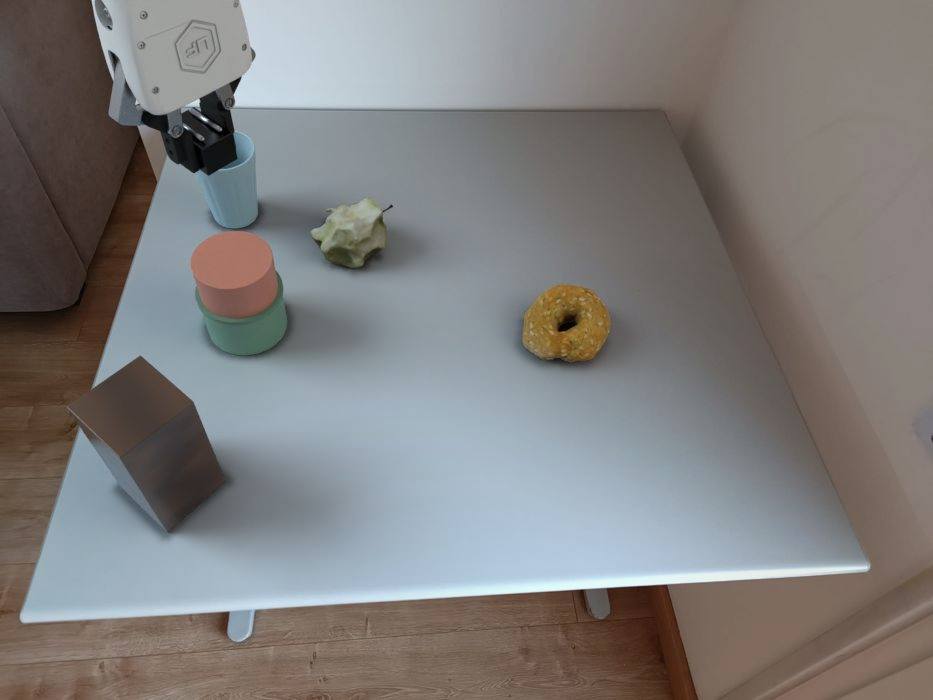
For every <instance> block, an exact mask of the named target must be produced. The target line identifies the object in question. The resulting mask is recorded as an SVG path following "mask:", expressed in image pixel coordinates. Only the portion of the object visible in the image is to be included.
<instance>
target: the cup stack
mask: <svg viewBox="0 0 933 700" xmlns="http://www.w3.org/2000/svg"><path fill="white" fill-rule="evenodd" d="M189 265H190V270H191V273H192V277H193V279H194V282H195V284H196V286H195V290H194V297H195V301H196V304H197V307H198V309H199V310H200V312H201V314H202V317H203V319H204V323H205V326H206V328H207V332H208V335H209V337H210V340H211V342H212V343H213V344H214V345H215V347H217V348H218V349H220V350H221V351H223V352H225V353H228V354H230V355H235V356H254V355H258V354H261V353H263V352H266V351H268V350H270V349H272V348H273V347H275V346H276V345H277V344H278V343H279V342H280V341H281V340H282V338H283V337H284V336H285V334H286V331H287V328H288V316H287V312H286V304H285V299H284V283H283V280H282V277H281V275H280V274H279V272H278V271H277V269H276V266H275V259H274V254H273V250H272V248H271V246H270V245H269V244H268V242H267V241H266V240H265V239H264V238H263V237H261V236H259V235H256V234H254V233H251V232H248V231H242V230H229V231H224V232H219V233H217V234H214V235H211V236H209V237H208V238H206V239H204V240H203V241H201V242H200V243H199V244H198V245H197V246H196V247H195V249H194V250H193V252H192V254H191V257H190V264H189Z"/></svg>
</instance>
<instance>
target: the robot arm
mask: <svg viewBox="0 0 933 700" xmlns="http://www.w3.org/2000/svg"><path fill="white" fill-rule="evenodd" d="M91 4H92V10H93V15H94V21H95V25H96V30H97V33H98V35H99V36H98V38H99V41H100V44H101V45H100V46H101V49H102V52H103V55H104V58H105V61H106V65H107V68H108V71H109V74H110V77H111V78H112V81H113V82H112V88H111V95H110V100H109V107H108V116H109V117H110V118H111V119H112V120H114V121H115V122H116V123H118V125H121V126H129V127H131V126H132V127H133V126H134V127H135V126H136V127H140V126H146V127H148V128H150V129H153V130H156V131H158V132H160V136H161V140H162V142H163V145H164V149H165V152H166V155H167V156H168V158H169V159H170V160H171V161H172V162H173V163H174V164H176V165H178V166H179V165H181V166H182V167H184V168H185V169H187V170H188V171H189V172H191V173H192V174H195V173H196V172H197V171H199V168H200V166H199V162H198V159H197V155H196V151H195V147H194V141H193V137H192V135H191V133H190V132H189V131H188V130H186V129H185V128H183V122H182V115H181V113H182V110H181V108H184V107H186V106H187V105H188V106H189V104H191V103H194V102H196V101H198V100H199V102H198V104H199V109H200V111H201V112H202V113H203V114H205V115H206V116H208V117H209V118H211V119H212V120H214V121H215V122H217V123H218V124H220V125H221V126H223V127H224V128H226V129H227V130H229V131H230V132H232V134H233V139H234V132H235V130H236V129H235V125H234V121H233V117H232V112H231V110H232V109H233V108H234V107H235V105H236V99H235V96H234V95H235V93H236V91H237V88H238V87H239V85H240V82H241V81H242V78H243V76H244V75H245V74H246V73H247V72H248V71H249V70H250V69H251V66H252V63H253V62H254V61H255V59H256V57H257V56H256V51H255V50H254V49H253V47H252V46H251V42H250V37H249V32H248V28H247V23H246V19H245V16H244V15H245V14H244V12H243V8H242V5H241V1H240V0H91ZM234 144H235V139H234ZM235 148H236V144H235Z"/></svg>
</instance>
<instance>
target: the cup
mask: <svg viewBox="0 0 933 700" xmlns="http://www.w3.org/2000/svg"><path fill="white" fill-rule="evenodd" d="M234 130H235V132H234V139H235V144H236V153H237V158H238V159H237V160H235V161H233V162H232V163H230V164H228V165H227V166H225V167H223V168H221V169H220V170H218V171H216V172H215V173H213V174H211V175H209V176H208V175H206V174H205V173H204V172H202V171H201V170H199V171H197V172H196V173H194V174H195V176H196V178H197V180H198V183H199V185H200V187H201V190H202V192H203V195H204V197H205V200H206V202H207V204H208V206H209V209H210V211H211V214H212V216H213V218H214V220H215V221H216V223H217V224H218V225H220V226H221V227H224V228H225V229H226V228H227V229H233V230H234V229H236V230H237V229H242V228H245V227H248V226H249V225H251V224H253V223H254V222H255V221H256V219H257V217H258V215H259V209H258V207H259V205H258V187H257V185H258V184H257V167H256V166H257V165H256V145H255V143H254V141H253V139H252V138H251V137H250V136H249V135H247V134H246V133H244V132H242V131H239V130H236V129H234Z"/></svg>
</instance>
